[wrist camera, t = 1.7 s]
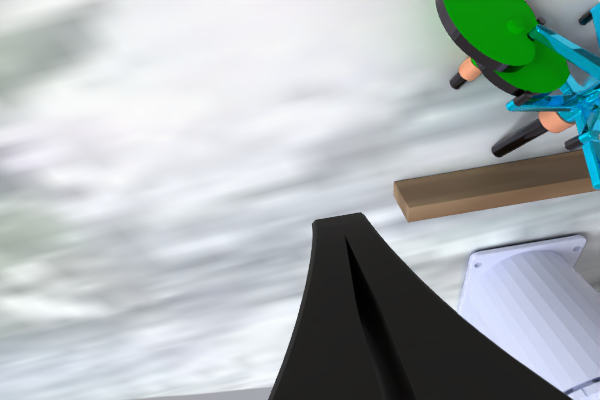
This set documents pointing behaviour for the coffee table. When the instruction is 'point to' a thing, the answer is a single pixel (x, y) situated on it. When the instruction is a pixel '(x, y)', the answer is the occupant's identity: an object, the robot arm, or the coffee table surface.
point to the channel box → (493, 186)
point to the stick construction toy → (529, 70)
